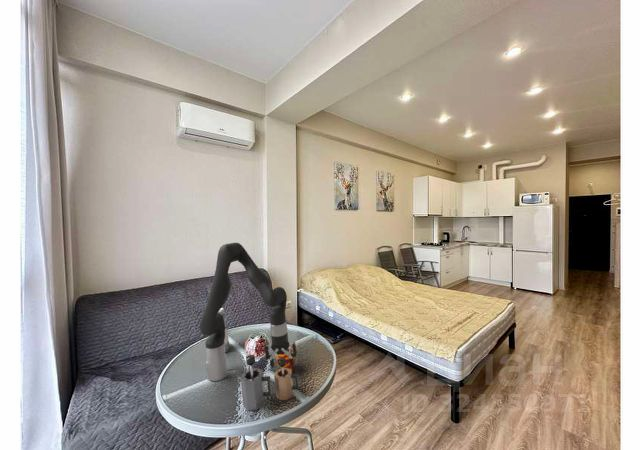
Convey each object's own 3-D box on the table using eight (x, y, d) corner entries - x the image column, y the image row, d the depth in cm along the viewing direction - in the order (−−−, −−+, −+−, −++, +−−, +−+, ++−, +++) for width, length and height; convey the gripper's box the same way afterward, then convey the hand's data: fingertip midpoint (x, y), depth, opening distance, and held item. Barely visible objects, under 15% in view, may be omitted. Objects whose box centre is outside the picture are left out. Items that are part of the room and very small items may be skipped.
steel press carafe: (241, 411, 110) (238, 382, 109) (247, 396, 119) (244, 369, 118) (270, 408, 110) (267, 379, 109) (273, 394, 119) (271, 367, 118)
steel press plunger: (248, 400, 113) (244, 359, 112) (251, 394, 116) (247, 355, 115) (257, 400, 113) (253, 359, 112) (259, 393, 116) (255, 354, 115)
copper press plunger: (280, 393, 117) (277, 362, 116) (281, 388, 120) (278, 357, 119) (287, 393, 117) (284, 361, 116) (288, 387, 120) (285, 357, 119)
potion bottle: (293, 376, 130) (291, 348, 130) (274, 375, 133) (272, 347, 132) (299, 364, 141) (297, 338, 140) (281, 363, 143) (279, 337, 142)
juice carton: (214, 356, 156) (210, 313, 154) (214, 348, 166) (209, 308, 164) (229, 352, 159) (225, 310, 158) (228, 345, 169) (224, 305, 168)
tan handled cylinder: (275, 400, 115) (273, 379, 114) (278, 388, 122) (276, 368, 122) (298, 398, 115) (296, 377, 114) (299, 387, 122) (297, 366, 122)
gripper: (261, 337, 113) (265, 372, 114) (293, 334, 113) (296, 369, 114) (265, 329, 121) (268, 362, 122) (295, 326, 121) (298, 360, 122)
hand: (282, 366), depth 118 cm, fingers open, 8 cm apart
